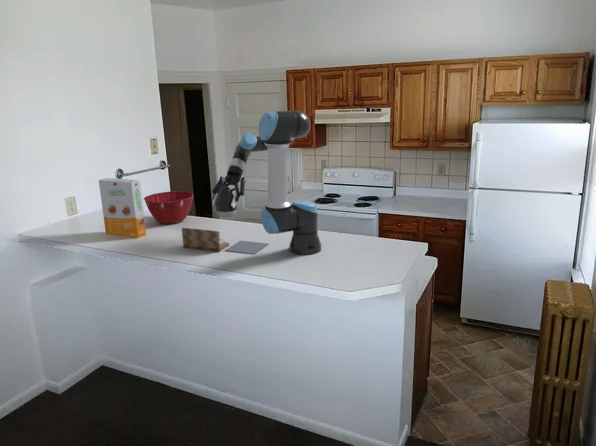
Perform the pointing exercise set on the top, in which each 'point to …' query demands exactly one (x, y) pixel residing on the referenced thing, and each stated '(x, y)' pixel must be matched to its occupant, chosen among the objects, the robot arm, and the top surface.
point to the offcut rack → (203, 240)
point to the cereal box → (122, 207)
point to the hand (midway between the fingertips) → (223, 206)
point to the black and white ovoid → (225, 202)
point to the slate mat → (247, 247)
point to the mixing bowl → (169, 206)
